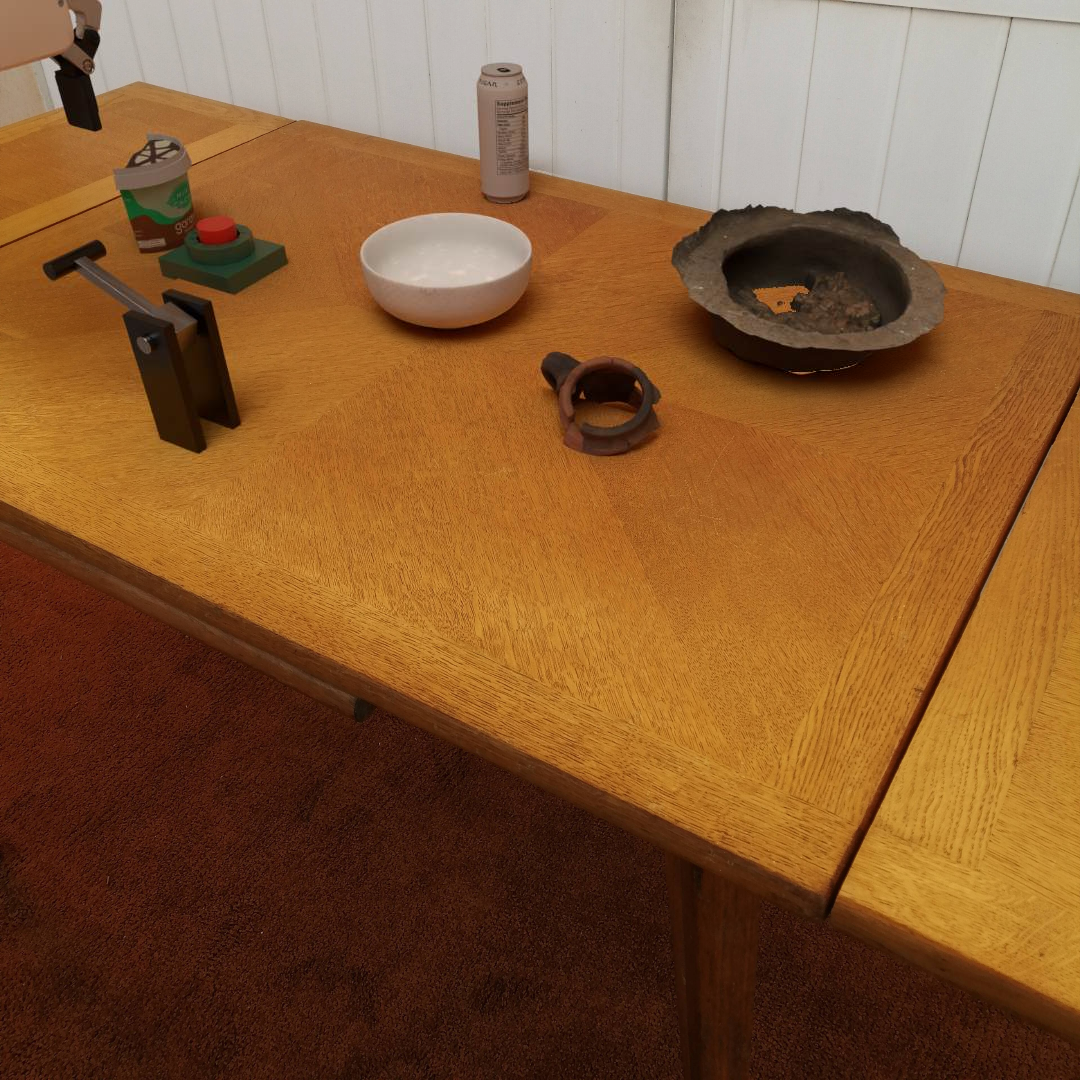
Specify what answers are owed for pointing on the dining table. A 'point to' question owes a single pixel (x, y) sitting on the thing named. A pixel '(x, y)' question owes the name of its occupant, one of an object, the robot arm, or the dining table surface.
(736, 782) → the dining table surface
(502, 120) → the energy drink can
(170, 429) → the bracket
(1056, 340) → the dining table surface
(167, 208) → the food container
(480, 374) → the dining table surface
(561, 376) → the pottery mug
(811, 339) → the stone bowl
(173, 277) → the button box
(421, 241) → the cereal bowl
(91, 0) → the robot arm
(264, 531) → the dining table surface
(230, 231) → the button
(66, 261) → the lever
